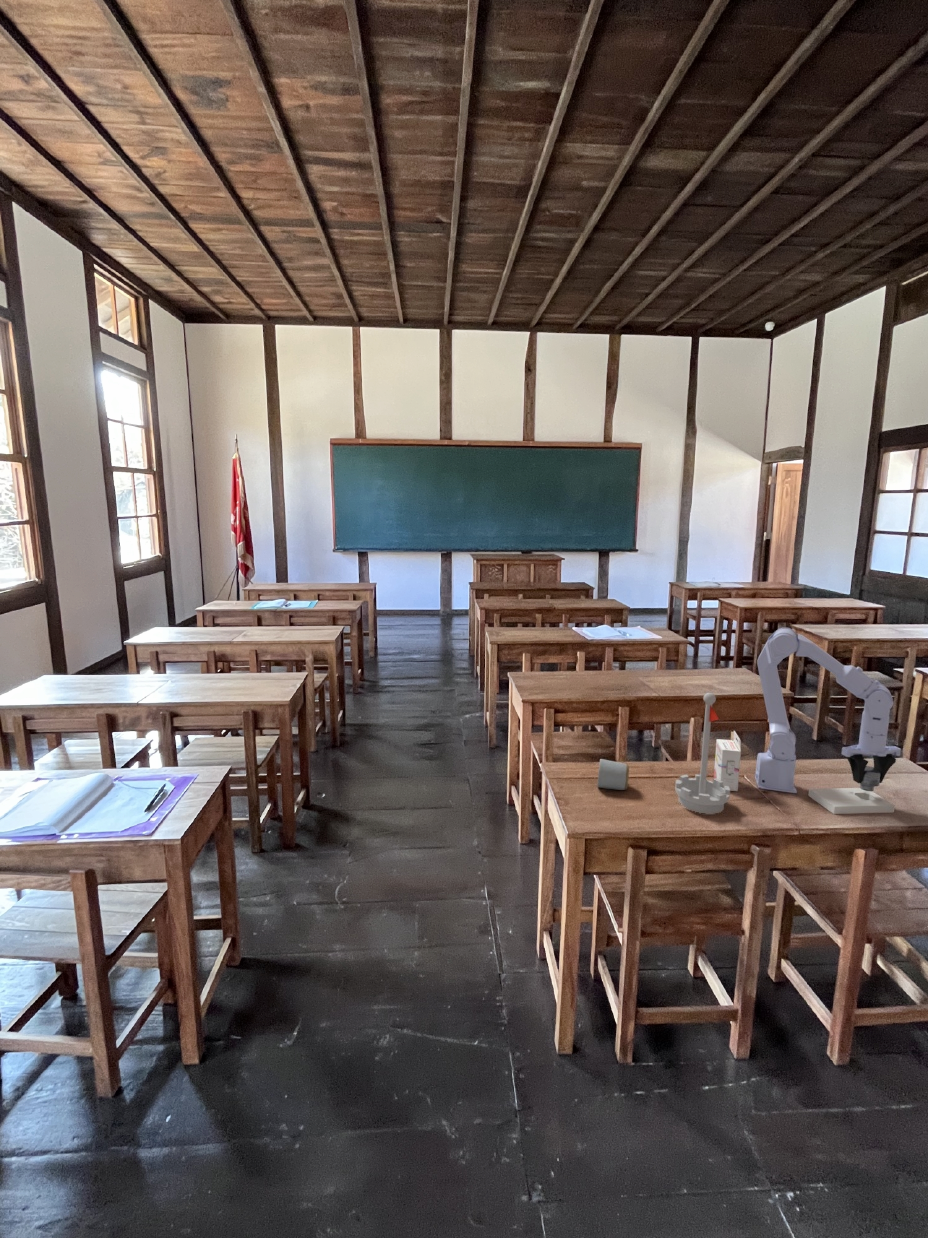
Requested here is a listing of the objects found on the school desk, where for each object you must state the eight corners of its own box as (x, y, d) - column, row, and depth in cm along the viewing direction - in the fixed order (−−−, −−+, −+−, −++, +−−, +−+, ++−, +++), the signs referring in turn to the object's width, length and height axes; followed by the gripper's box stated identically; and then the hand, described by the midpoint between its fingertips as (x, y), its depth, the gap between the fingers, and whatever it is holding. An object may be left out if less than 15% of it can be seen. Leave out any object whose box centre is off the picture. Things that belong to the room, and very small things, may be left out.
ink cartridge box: (712, 777, 170) (716, 728, 168) (730, 778, 170) (735, 729, 167) (718, 790, 162) (723, 739, 160) (738, 792, 161) (742, 740, 159)
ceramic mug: (628, 795, 159) (629, 768, 157) (596, 791, 160) (598, 764, 159) (627, 779, 169) (628, 754, 168) (597, 776, 171) (599, 750, 170)
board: (833, 814, 149) (834, 806, 149) (808, 796, 159) (809, 789, 159) (893, 812, 151) (894, 805, 150) (864, 794, 160) (865, 787, 160)
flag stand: (666, 793, 160) (673, 686, 155) (712, 792, 161) (721, 685, 156) (688, 817, 147) (697, 701, 142) (738, 815, 148) (749, 700, 143)
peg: (858, 791, 153) (860, 772, 152) (852, 783, 158) (855, 764, 157) (880, 794, 151) (883, 774, 150) (874, 786, 156) (877, 767, 155)
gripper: (858, 737, 148) (851, 789, 150) (913, 736, 149) (906, 787, 151) (838, 728, 154) (832, 777, 157) (891, 727, 155) (884, 776, 158)
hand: (867, 781), depth 154 cm, fingers closed on peg, 5 cm apart
